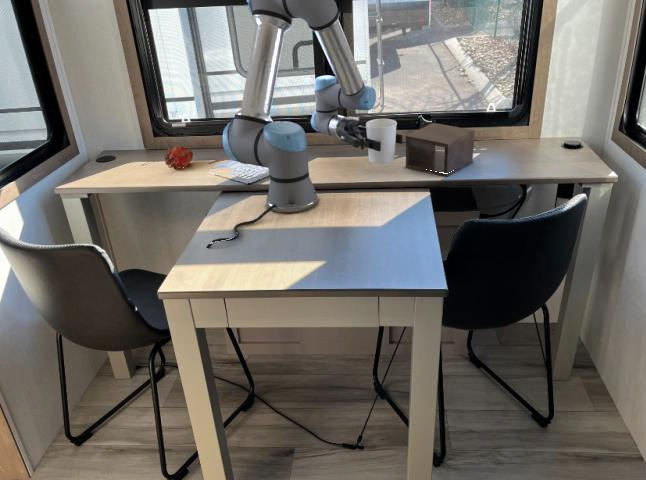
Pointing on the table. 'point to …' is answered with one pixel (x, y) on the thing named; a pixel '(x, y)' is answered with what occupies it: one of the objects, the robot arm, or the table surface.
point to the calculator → (243, 169)
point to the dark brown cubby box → (426, 157)
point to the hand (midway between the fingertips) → (390, 143)
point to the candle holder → (382, 140)
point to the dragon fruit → (178, 157)
